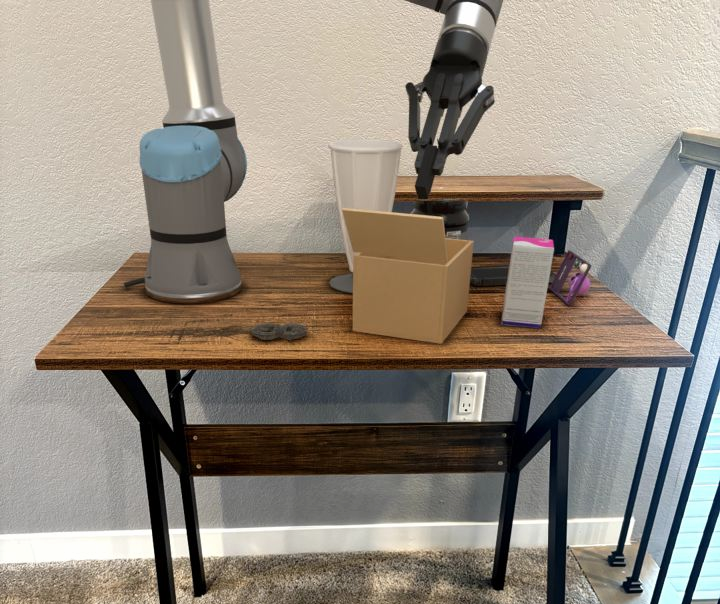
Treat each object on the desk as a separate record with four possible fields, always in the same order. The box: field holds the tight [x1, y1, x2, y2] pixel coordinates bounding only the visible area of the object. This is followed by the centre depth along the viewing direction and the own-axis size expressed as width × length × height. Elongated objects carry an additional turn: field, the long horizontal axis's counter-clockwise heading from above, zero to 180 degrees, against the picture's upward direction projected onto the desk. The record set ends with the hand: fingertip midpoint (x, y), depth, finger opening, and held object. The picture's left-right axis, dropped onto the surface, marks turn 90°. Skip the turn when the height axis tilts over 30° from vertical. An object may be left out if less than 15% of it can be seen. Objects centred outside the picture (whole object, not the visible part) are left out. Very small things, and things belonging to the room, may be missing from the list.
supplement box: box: [500, 235, 555, 329], centre depth 105 cm, size 6×6×12 cm
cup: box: [327, 138, 404, 294], centre depth 117 cm, size 12×12×22 cm
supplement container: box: [410, 199, 470, 240], centre depth 131 cm, size 10×10×12 cm
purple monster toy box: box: [549, 249, 592, 307], centre depth 117 cm, size 7×5×9 cm
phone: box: [470, 264, 557, 287], centre depth 126 cm, size 8×1×15 cm
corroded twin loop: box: [249, 322, 309, 341], centre depth 100 cm, size 5×8×1 cm, turn 89°
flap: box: [342, 208, 448, 262], centre depth 92 cm, size 7×13×1 cm
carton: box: [352, 238, 475, 345], centre depth 104 cm, size 15×13×10 cm
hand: (421, 192), depth 99 cm, fingers closed
